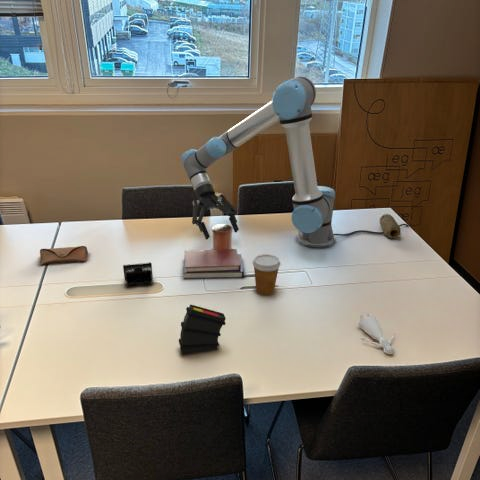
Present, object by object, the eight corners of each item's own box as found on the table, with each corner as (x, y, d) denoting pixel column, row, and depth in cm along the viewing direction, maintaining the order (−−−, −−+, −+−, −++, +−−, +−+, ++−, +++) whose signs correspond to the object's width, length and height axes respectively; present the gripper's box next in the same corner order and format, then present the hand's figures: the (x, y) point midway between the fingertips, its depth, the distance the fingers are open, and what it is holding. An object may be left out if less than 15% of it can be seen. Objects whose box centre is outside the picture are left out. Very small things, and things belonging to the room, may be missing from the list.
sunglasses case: (38, 265, 190) (36, 247, 190) (41, 266, 197) (39, 249, 197) (87, 261, 194) (85, 243, 194) (89, 262, 201) (87, 245, 201)
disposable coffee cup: (278, 284, 181) (280, 254, 175) (278, 298, 174) (280, 267, 167) (252, 283, 182) (253, 253, 176) (250, 296, 174) (251, 265, 168)
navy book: (241, 259, 198) (241, 253, 196) (243, 278, 185) (243, 271, 184) (185, 260, 197) (184, 254, 195) (183, 279, 184) (183, 272, 183)
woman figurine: (382, 309, 160) (411, 344, 146) (379, 320, 162) (407, 356, 148) (348, 313, 157) (374, 349, 143) (346, 324, 160) (371, 361, 146)
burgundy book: (236, 254, 196) (236, 248, 195) (240, 270, 185) (240, 265, 183) (185, 255, 194) (184, 250, 193) (185, 272, 183) (185, 267, 181)
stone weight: (375, 226, 228) (377, 212, 225) (390, 226, 229) (392, 212, 225) (386, 240, 216) (389, 225, 212) (402, 240, 216) (405, 225, 213)
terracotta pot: (231, 246, 208) (231, 223, 203) (232, 255, 202) (232, 231, 196) (212, 246, 208) (212, 223, 202) (212, 255, 201) (212, 231, 195)
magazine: (168, 345, 146) (188, 303, 141) (208, 355, 152) (229, 314, 146) (170, 353, 143) (191, 310, 138) (211, 362, 149) (232, 321, 143)
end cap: (152, 275, 186) (150, 259, 182) (154, 285, 180) (152, 268, 176) (124, 278, 184) (122, 262, 180) (125, 288, 178) (123, 271, 174)
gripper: (225, 186, 212) (244, 231, 210) (172, 197, 200) (192, 245, 198) (232, 177, 205) (252, 224, 203) (178, 187, 194) (198, 237, 192)
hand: (222, 234), depth 201 cm, fingers open, 13 cm apart
